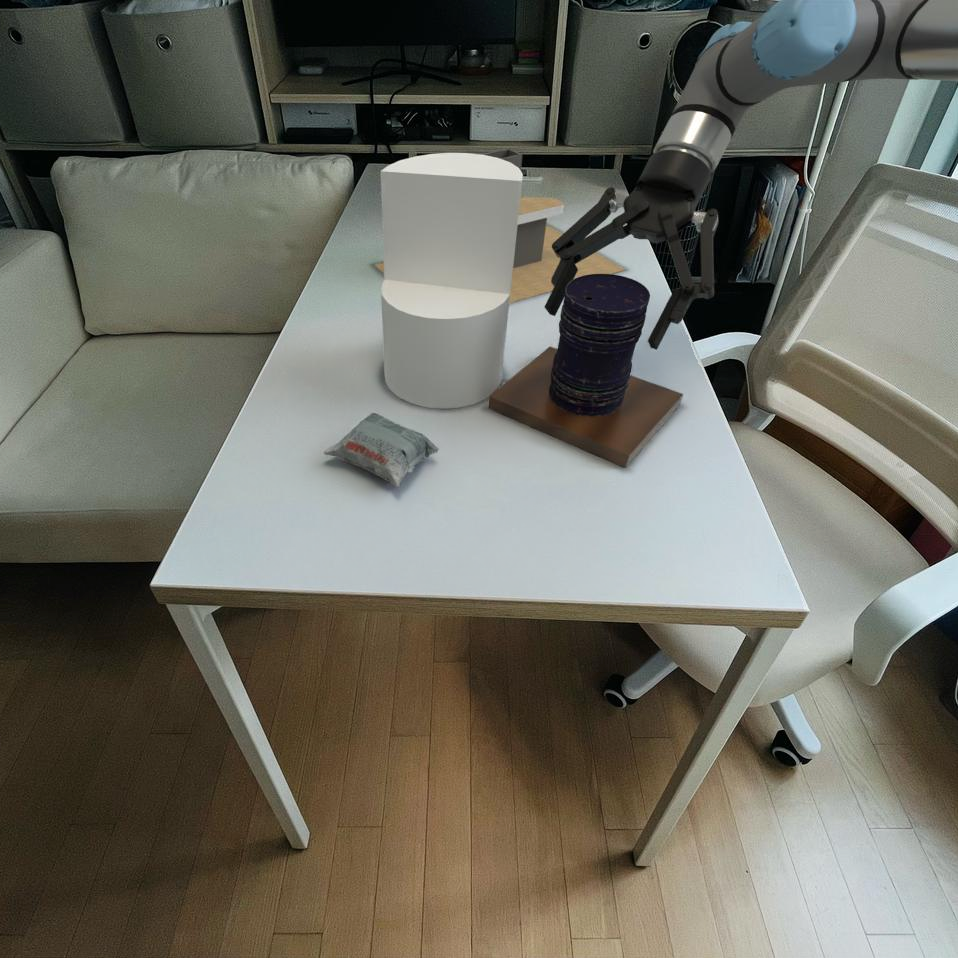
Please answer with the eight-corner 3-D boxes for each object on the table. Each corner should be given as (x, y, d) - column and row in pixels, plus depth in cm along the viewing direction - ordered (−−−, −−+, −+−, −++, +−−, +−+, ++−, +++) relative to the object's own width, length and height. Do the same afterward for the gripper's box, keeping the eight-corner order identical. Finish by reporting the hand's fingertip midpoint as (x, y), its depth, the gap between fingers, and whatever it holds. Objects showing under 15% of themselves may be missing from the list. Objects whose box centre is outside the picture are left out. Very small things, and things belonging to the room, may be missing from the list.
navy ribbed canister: (587, 366, 93) (608, 266, 83) (640, 400, 87) (670, 296, 77) (532, 389, 90) (547, 287, 80) (583, 426, 84) (606, 321, 74)
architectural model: (542, 222, 136) (556, 116, 123) (625, 269, 119) (652, 152, 105) (374, 264, 126) (368, 154, 112) (438, 323, 108) (441, 200, 95)
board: (679, 406, 89) (683, 393, 88) (625, 468, 81) (629, 455, 79) (548, 357, 99) (549, 346, 98) (488, 408, 91) (489, 396, 89)
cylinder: (404, 336, 106) (402, 149, 87) (512, 351, 101) (534, 157, 82) (367, 397, 94) (355, 196, 75) (487, 418, 89) (506, 208, 70)
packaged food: (399, 501, 78) (398, 470, 75) (323, 463, 84) (320, 433, 81) (439, 462, 83) (440, 431, 80) (366, 429, 89) (364, 399, 86)
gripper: (792, 201, 76) (702, 370, 78) (592, 163, 89) (520, 309, 91) (795, 166, 69) (698, 350, 72) (579, 130, 82) (502, 288, 84)
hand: (598, 328), depth 81 cm, fingers open, 13 cm apart
